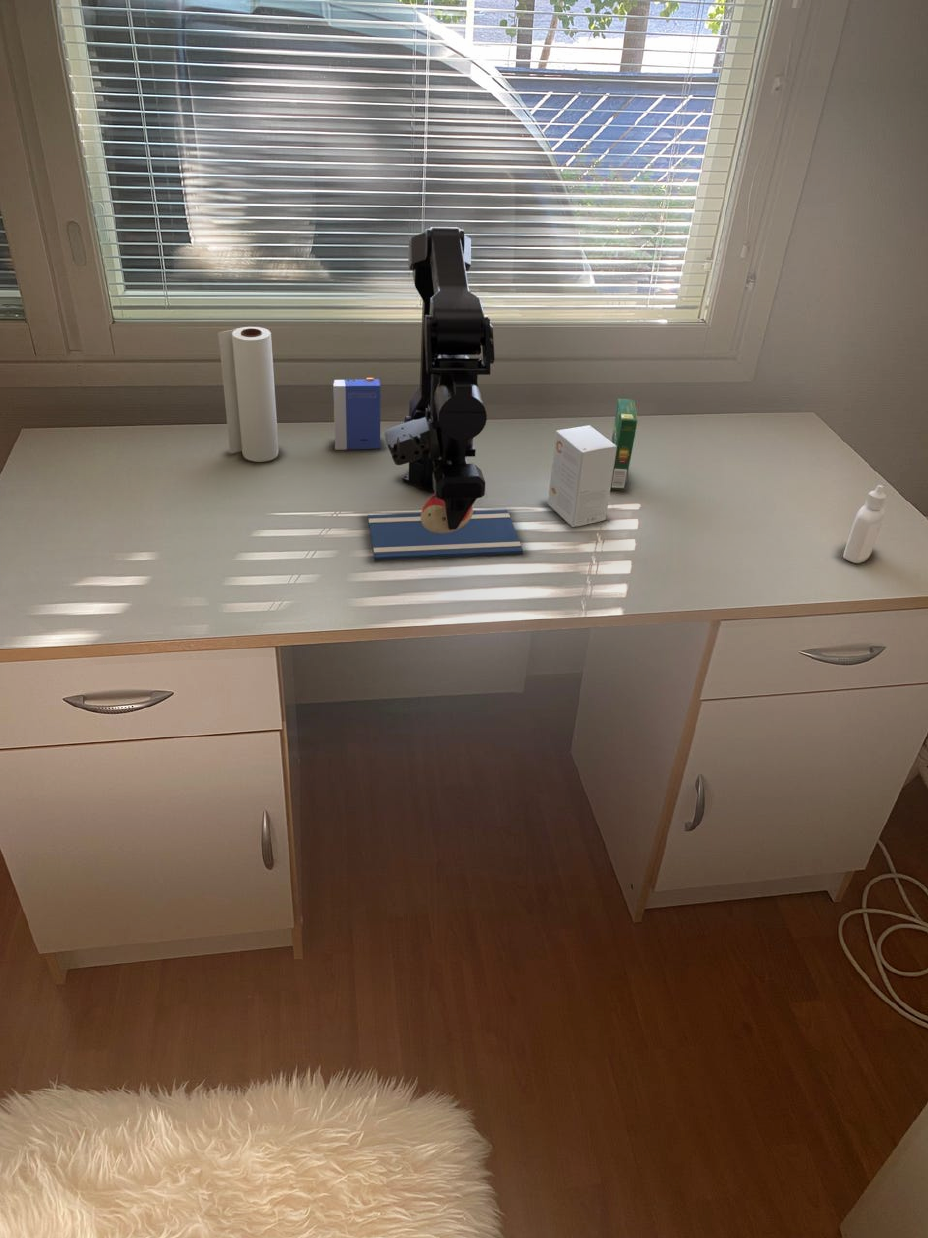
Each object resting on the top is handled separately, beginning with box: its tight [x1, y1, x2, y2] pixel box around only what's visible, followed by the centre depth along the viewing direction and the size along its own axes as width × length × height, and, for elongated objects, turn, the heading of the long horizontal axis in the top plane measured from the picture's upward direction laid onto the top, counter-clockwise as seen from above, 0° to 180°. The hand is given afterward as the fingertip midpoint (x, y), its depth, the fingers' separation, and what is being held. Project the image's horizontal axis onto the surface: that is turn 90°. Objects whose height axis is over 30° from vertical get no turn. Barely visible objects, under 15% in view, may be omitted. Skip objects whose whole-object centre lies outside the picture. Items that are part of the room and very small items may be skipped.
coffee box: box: [610, 398, 639, 492], centre depth 161 cm, size 8×3×13 cm, turn 176°
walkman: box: [332, 377, 381, 451], centre depth 166 cm, size 8×3×12 cm, turn 99°
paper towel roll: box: [217, 326, 280, 463], centre depth 159 cm, size 7×6×21 cm
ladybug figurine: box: [420, 493, 474, 533], centre depth 132 cm, size 7×10×4 cm
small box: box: [547, 425, 617, 528], centre depth 151 cm, size 8×6×13 cm
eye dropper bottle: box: [842, 484, 887, 564], centre depth 145 cm, size 4×6×12 cm
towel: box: [367, 509, 524, 562], centre depth 147 cm, size 22×12×1 cm, turn 100°
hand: (447, 511), depth 133 cm, fingers closed on ladybug figurine, 9 cm apart
